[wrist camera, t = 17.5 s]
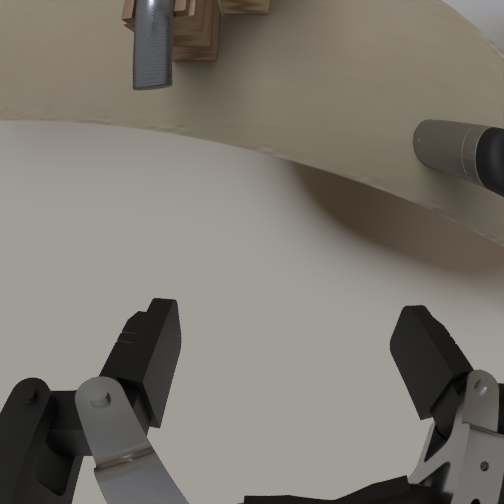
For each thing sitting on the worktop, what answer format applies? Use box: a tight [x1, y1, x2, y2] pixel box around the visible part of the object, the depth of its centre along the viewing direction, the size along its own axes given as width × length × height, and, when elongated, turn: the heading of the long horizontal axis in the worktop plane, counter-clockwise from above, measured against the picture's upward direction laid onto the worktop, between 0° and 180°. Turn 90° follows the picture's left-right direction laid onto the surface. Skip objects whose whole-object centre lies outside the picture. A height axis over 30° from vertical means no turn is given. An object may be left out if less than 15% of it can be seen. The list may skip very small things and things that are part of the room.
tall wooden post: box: [122, 0, 221, 62], centre depth 26 cm, size 7×9×22 cm
